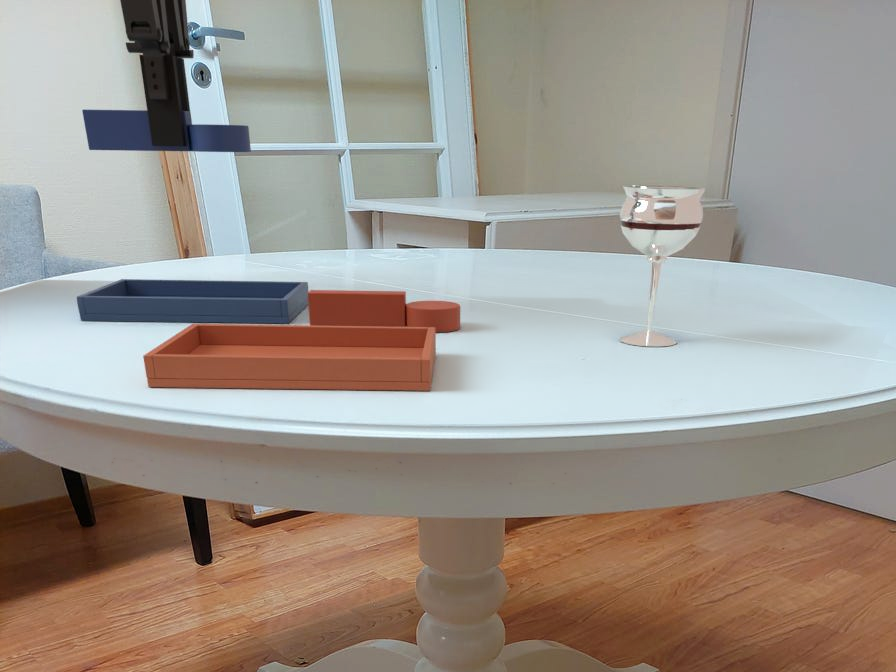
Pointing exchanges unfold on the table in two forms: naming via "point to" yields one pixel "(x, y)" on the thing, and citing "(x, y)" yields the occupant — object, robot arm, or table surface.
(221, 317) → the blue tray
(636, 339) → the wineglass
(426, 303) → the bar with round end
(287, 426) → the table surface
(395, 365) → the terracotta tray
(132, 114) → the blue block
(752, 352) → the table surface
